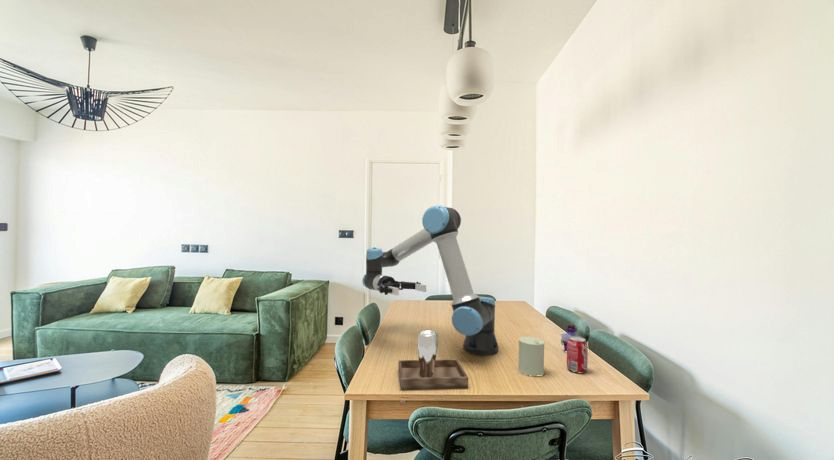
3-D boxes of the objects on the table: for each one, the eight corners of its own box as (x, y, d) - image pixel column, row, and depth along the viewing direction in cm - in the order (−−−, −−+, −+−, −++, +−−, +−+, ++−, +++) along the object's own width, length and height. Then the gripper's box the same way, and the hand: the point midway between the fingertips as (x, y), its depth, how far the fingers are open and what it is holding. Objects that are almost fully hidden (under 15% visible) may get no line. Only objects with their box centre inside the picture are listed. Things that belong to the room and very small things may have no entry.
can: (531, 378, 117) (532, 344, 117) (512, 369, 125) (513, 337, 126) (549, 374, 121) (550, 341, 122) (530, 365, 130) (531, 334, 130)
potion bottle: (556, 348, 149) (557, 321, 149) (575, 348, 150) (575, 322, 150) (566, 355, 141) (566, 327, 141) (586, 355, 141) (586, 327, 141)
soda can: (585, 368, 127) (586, 337, 128) (588, 375, 121) (589, 342, 121) (565, 365, 130) (566, 334, 130) (567, 372, 123) (568, 340, 123)
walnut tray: (457, 368, 125) (457, 359, 125) (467, 388, 109) (468, 377, 109) (398, 369, 122) (398, 360, 122) (400, 390, 106) (400, 379, 107)
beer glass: (435, 382, 111) (436, 337, 111) (414, 379, 112) (415, 335, 112) (438, 373, 117) (439, 330, 117) (418, 371, 119) (419, 329, 119)
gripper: (407, 289, 158) (436, 296, 140) (359, 295, 143) (385, 303, 126) (407, 273, 158) (436, 278, 141) (359, 277, 143) (385, 283, 126)
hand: (412, 290), depth 133 cm, fingers open, 13 cm apart
